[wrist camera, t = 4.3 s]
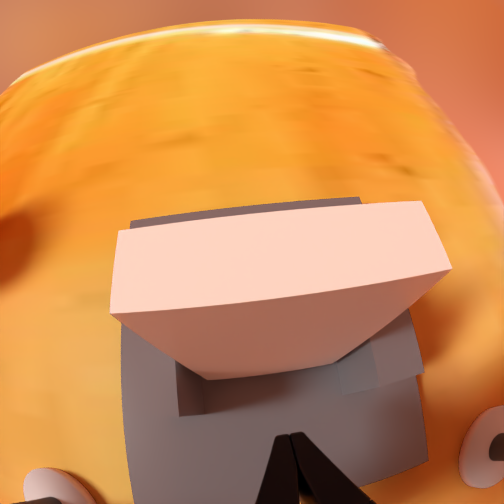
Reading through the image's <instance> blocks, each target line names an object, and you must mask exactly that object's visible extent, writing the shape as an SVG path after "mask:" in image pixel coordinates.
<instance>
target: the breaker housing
mask: <svg viewBox="0 0 504 504" xmlns="http://www.w3.org/2000/svg"><path fill="white" fill-rule="evenodd" d="M358 204H362V203H361V200H360V198H359V197H347V198H332V199H319V200H306V201H294V202H283V203H272V204H262V205H252V206H243V207H233V208H225V209H216V210H208V211H199V212H191V213H184V214H176V215H169V216H162V217H155V218H148V219H141V220H134V221H131V224H130V229H134V228H141V227H148V226H155V225H163V224H170V223H178V222H185V221H193V220H201V219H210V218H218V217H227V216H236V215H245V214H254V213H264V212H274V211H285V210H295V209H307V208H318V207H331V206H344V205H358ZM421 373H424V367H423V363H422V358H421V354H420V350H419V346H418V342H417V338H416V334H415V330H414V327H413V323H412V319H411V316H410V312H409V309H408V308H407V309H406V310H405V311H404V312H402V313H401V314H400V315H399V316H397V317H396V318H395V319H394V320H392V321H391V322H390V323H388V324H387V325H386V326H385V327H383V328H382V329H381V330H379V331H378V332H377V333H375V334H374V335H373V336H371V337H370V338H369V339H367V340H366V341H364V342H363V343H362V344H360V345H359V346H357V347H356V348H355V349H353V350H352V351H350V352H349V353H347V354H346V355H344V356H343V357H341V358H340V359H338V360H337V361H335V362H334V363H332V364H327V365H322V366H317V367H311V368H305V369H300V370H293V371H287V372H280V373H273V374H266V375H258V376H249V377H240V378H230V379H218V380H207V379H205V378H203V377H202V376H200V375H198V374H197V373H195V372H193V371H192V370H190V369H188V368H187V367H185V366H184V365H182V364H180V363H179V362H177V361H176V360H174V359H173V358H171V357H170V356H168V355H167V354H165V353H164V352H162V351H161V350H159V349H158V348H156V347H155V346H153V345H152V344H150V343H149V342H147V341H146V340H145V339H143V338H142V337H140V336H139V335H138V334H136V333H135V332H133V331H132V330H131V329H129V328H128V327H127V326H125V325H124V324H123V323H122V326H121V387H122V408H123V422H124V434H125V444H126V453H127V461H128V468H129V475H130V481H131V487H132V493H133V499H134V504H255V502H256V499H257V496H258V493H259V489H260V486H261V483H262V480H263V477H264V473H265V470H266V467H267V463H268V460H269V456H270V453H271V449H272V446H273V442H274V439H275V436H277V435H282V434H290V433H294V432H300V431H302V432H304V433H305V434H306V435H307V436H308V437H309V438H310V440H311V441H312V442H313V443H314V444H315V445H316V446H317V447H318V448H319V449H320V450H321V451H322V452H323V453H324V454H325V455H326V456H327V457H328V458H329V459H330V460H331V461H332V462H333V463H334V464H335V465H336V466H337V467H338V468H339V469H340V470H341V471H342V472H343V473H344V474H345V475H346V476H347V477H348V478H349V479H350V480H351V481H352V482H353V483H354V484H355V485H356V486H357V487H361V486H365V485H368V484H371V483H374V482H377V481H380V480H382V479H385V478H388V477H391V476H393V475H396V474H398V473H401V472H403V471H406V470H408V469H411V468H413V467H415V466H418V465H420V464H422V463H424V462H426V461H428V450H427V441H426V433H425V426H424V419H423V412H422V406H421V400H420V395H419V389H418V384H417V379H416V375H418V374H421ZM299 501H300V499H299Z"/></svg>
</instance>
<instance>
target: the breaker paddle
mask: <svg viewBox="0 0 504 504" xmlns="http://www.w3.org/2000/svg"><path fill="white" fill-rule="evenodd" d="M451 269H452V267H451V264H450V262H449V259H448V257H447V254H446V252H445V250H444V247H443V245H442V243H441V241H440V238H439V236H438V234H437V232H436V230H435V227H434V225H433V223H432V221H431V219H430V217H429V215H428V213H427V211H426V209H425V207H424V205H423V203H422V201H408V202H389V203H373V204H358V205H344V206H331V207H318V208H307V209H295V210H285V211H274V212H264V213H254V214H245V215H236V216H227V217H218V218H210V219H201V220H193V221H185V222H178V223H170V224H163V225H155V226H148V227H141V228H134V229H127V230H121V231H119V232H118V239H117V246H116V253H115V261H114V270H113V279H112V289H111V301H110V314H111V315H112V316H113V317H115V318H116V319H117V320H119V321H120V322H121V323H123V324H124V325H125V326H127V327H128V328H129V329H131V330H132V331H133V332H135V333H136V334H138V335H139V336H140V337H142V338H143V339H145V340H146V341H147V342H149V343H150V344H152V345H153V346H155V347H156V348H158V349H159V350H161V351H162V352H164V353H165V354H167V355H168V356H170V357H171V358H173V359H174V360H176V361H177V362H179V363H180V364H182V365H184V366H185V367H187V368H188V369H190V370H192V371H193V372H195V373H197V374H198V375H200V376H202V377H203V378H205V379H207V380H218V379H230V378H240V377H249V376H258V375H266V374H273V373H280V372H287V371H293V370H300V369H305V368H311V367H317V366H322V365H327V364H332V363H334V362H335V361H337V360H338V359H340V358H341V357H343V356H344V355H346V354H347V353H349V352H350V351H352V350H353V349H355V348H356V347H357V346H359V345H360V344H362V343H363V342H364V341H366V340H367V339H369V338H370V337H371V336H373V335H374V334H375V333H377V332H378V331H379V330H381V329H382V328H383V327H385V326H386V325H387V324H388V323H390V322H391V321H392V320H394V319H395V318H396V317H397V316H399V315H400V314H401V313H402V312H404V311H405V310H406V309H407V308H409V307H410V306H411V305H412V304H413V303H415V302H416V301H417V300H418V299H419V298H420V297H422V296H423V295H424V294H425V293H426V292H427V291H429V290H430V289H431V288H432V287H433V286H434V285H435V284H436V283H437V282H439V281H440V280H441V279H442V278H443V277H444V276H445V275H446V274H447V273H448V272H449V271H450V270H451Z"/></svg>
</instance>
